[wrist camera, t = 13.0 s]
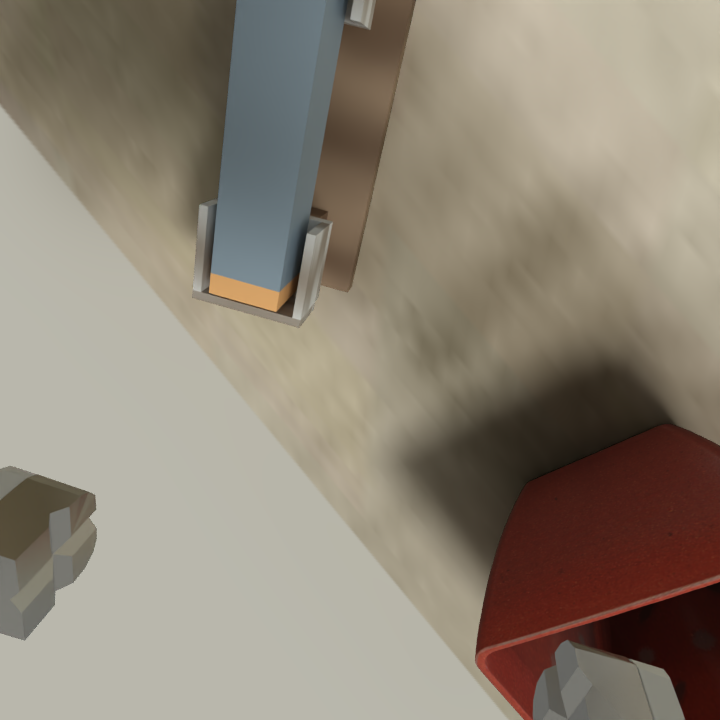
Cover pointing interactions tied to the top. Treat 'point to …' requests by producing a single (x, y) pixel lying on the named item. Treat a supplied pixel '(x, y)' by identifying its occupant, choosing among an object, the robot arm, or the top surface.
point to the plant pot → (612, 569)
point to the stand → (335, 161)
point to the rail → (272, 144)
